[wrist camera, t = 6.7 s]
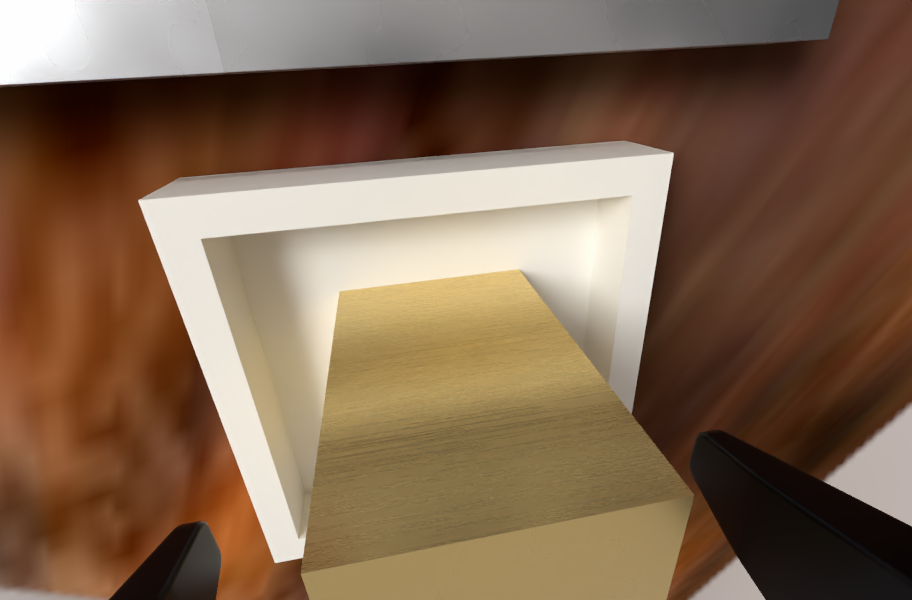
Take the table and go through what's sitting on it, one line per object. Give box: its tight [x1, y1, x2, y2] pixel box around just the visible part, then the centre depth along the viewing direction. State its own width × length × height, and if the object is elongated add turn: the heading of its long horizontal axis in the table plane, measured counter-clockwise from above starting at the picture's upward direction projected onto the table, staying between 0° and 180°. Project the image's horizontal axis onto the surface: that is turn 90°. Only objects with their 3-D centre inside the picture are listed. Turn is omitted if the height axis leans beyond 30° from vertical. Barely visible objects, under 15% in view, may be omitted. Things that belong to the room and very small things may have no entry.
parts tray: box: [138, 141, 674, 563], centre depth 12 cm, size 10×10×2 cm
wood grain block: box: [301, 269, 694, 600], centre depth 9 cm, size 4×4×7 cm
